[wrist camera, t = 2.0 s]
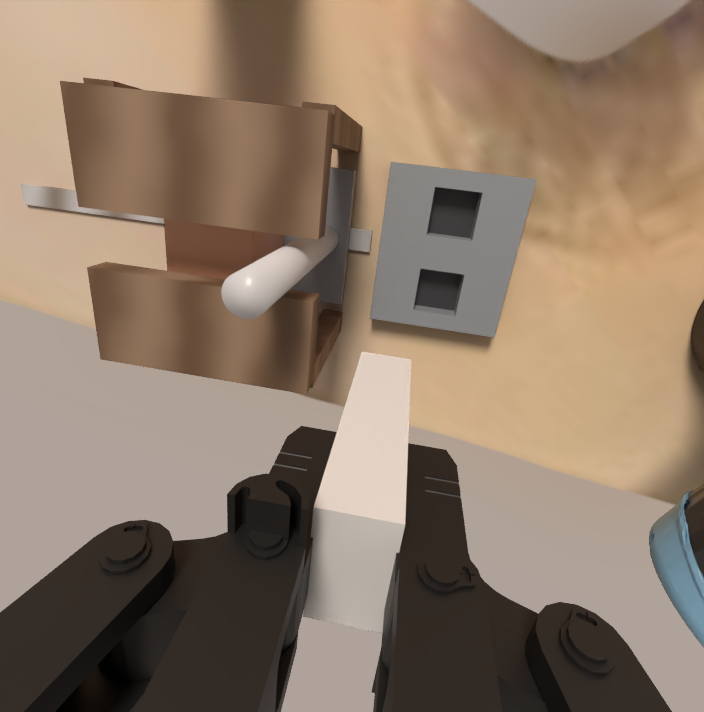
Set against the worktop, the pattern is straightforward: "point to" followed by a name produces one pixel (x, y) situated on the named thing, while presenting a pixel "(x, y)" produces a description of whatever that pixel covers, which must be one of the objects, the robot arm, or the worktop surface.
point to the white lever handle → (268, 255)
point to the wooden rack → (203, 222)
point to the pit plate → (448, 247)
